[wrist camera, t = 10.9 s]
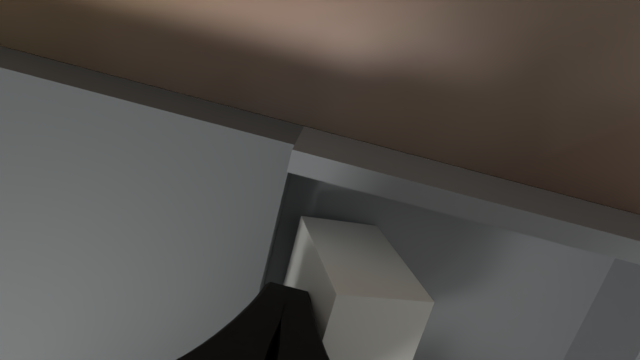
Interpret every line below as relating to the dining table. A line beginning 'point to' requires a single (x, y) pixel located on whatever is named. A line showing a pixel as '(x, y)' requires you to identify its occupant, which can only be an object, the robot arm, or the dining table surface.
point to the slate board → (128, 213)
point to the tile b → (358, 290)
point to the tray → (479, 251)
